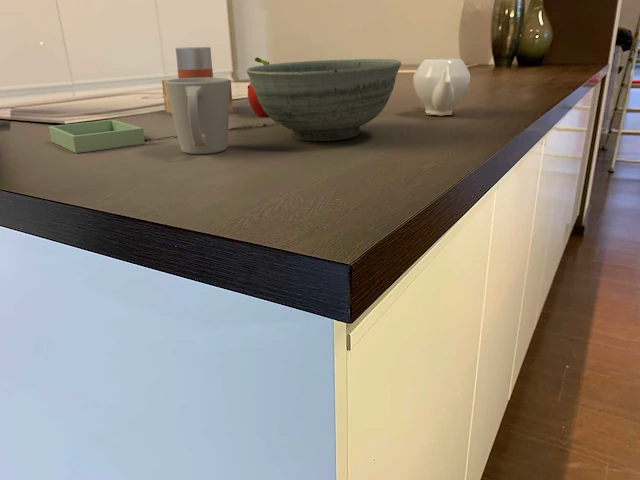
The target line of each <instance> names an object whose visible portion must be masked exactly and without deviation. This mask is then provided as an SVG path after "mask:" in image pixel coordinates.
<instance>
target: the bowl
mask: <svg viewBox="0 0 640 480" xmlns="http://www.w3.org/2000/svg"><path fill="white" fill-rule="evenodd" d="M401 66H402V62H401V60H399V59H392V58H391V59H390V58H353V59H352V58H351V59H324V60H322V59H321V60H304V61H291V62H277V63H269V65H264V64H262V65H255V66H251V67H249V68H247V69H246V70H245V72H246V74H247V75H248V77H249V80H250V83H252V86H253V88H254V91H255V94H256V96H257V99H258V101H259V103H260V105H261V106H262V108H263V110H264V111H265V112H266V113H267V115H268V116H269V117H268V118H269V119H271V120H272V121H273V122H275V123H277V124H279V125H281V127H284V128H286V129H288V130H292V135H293V137H294V138H295V139H296V140H297V139H298V140H302V141H312V142H329V141H339V140H340V141H341V140H346V139H350V138H354V137H356V136H358V135H359V134H360V131H361V126H362V127H363V126H364V125H366V124H368V123H369V122H371V121H373V120H374V119H375V118H377V117H378V116H379V115H380V114H381V113H382V112H383V110H384V108H385V107H386V106H387V104H388V102H389V100H390V98H391V95H392V94H393V93H392V92H393V91H394V88H395V84H396V79H397V78H396V77H397V76H398V72H399V71H400V68H401Z"/></svg>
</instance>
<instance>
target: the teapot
mask: <svg viewBox="0 0 640 480" xmlns="http://www.w3.org/2000/svg"><path fill="white" fill-rule="evenodd" d="M412 77H413V78H412V82H413V83H412V84H413V89H414V93H415V94H416V96H417V98H418V100H419V101H420V102H421V103H422V105H423V107H424V109H425V110H424V113H425V112H426V113H431V114H445V113H451V112H453V111H454V109H455V107H457V105H458V104H460V102H461V101H462V100H463V99H464V98H465V96H466V94H467V92H468V90H469V88H470V85H471V80H472V79H471V78H472V77H471V73H470V71H469V69H468V66H467V65H466V63H465V62H464V60H463V59H461V58H458V57H443V56H432V57H431V58H429V57H428V58H424V59H423V60H422V62H421V63H420V64H419V66H418V68H417V69H416V70H415V72H414V74H413V76H412ZM453 113H454V112H453Z"/></svg>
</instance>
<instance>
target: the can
mask: <svg viewBox="0 0 640 480" xmlns="http://www.w3.org/2000/svg"><path fill="white" fill-rule="evenodd" d="M211 50H212V49H211V47H210V46H191V47H190V46H189V47H187V46H185V47H175V57H176V66H177V69H176V70H177V79H182V78H207V77H211V78H214V71H213V70H214V69H213V61H212V51H211Z"/></svg>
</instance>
